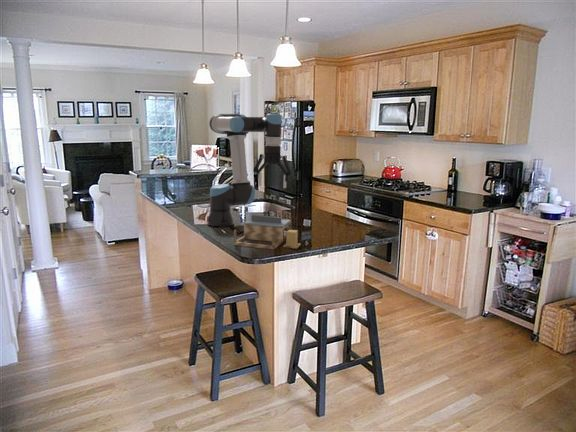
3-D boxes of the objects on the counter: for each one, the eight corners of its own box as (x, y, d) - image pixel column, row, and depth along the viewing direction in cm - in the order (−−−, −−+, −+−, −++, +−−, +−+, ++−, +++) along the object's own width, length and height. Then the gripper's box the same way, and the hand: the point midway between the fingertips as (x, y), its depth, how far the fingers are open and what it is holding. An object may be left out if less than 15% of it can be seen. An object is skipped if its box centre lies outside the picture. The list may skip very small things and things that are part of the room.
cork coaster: (283, 247, 213) (283, 246, 212) (287, 243, 219) (287, 242, 219) (296, 248, 211) (296, 247, 210) (300, 244, 217) (300, 243, 217)
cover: (244, 223, 225) (244, 216, 224) (253, 218, 238) (253, 211, 238) (282, 227, 219) (282, 220, 219) (290, 221, 232) (290, 214, 232)
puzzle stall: (233, 245, 215) (233, 230, 213) (254, 231, 241) (254, 218, 240) (274, 249, 209) (274, 234, 207) (291, 234, 235) (291, 221, 234)
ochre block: (286, 245, 213) (286, 231, 212) (288, 243, 217) (289, 229, 216) (295, 246, 212) (295, 232, 210) (297, 244, 216) (297, 230, 215)
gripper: (247, 144, 219) (247, 185, 224) (294, 147, 212) (293, 190, 217) (252, 143, 226) (252, 183, 231) (299, 146, 219) (297, 187, 224)
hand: (272, 186), depth 224 cm, fingers open, 13 cm apart
